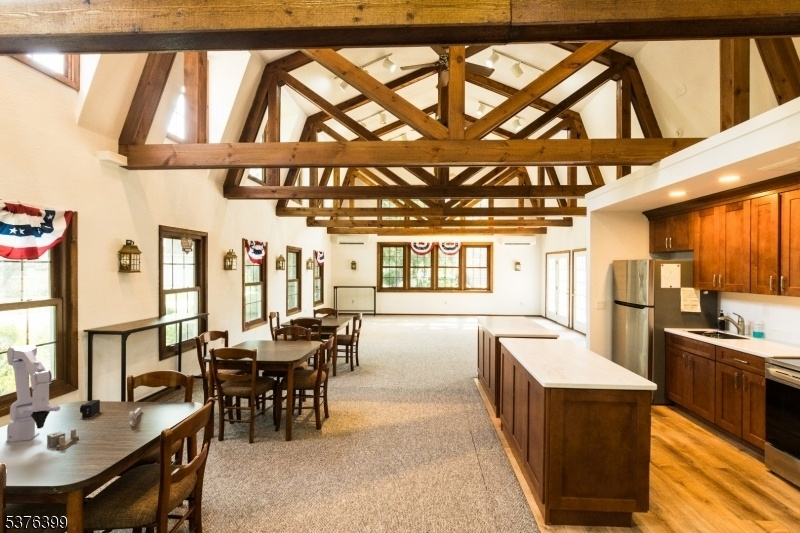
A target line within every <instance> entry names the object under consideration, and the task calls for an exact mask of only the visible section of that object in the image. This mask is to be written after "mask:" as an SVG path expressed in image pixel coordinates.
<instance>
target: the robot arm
mask: <svg viewBox="0 0 800 533" xmlns="http://www.w3.org/2000/svg"><path fill="white" fill-rule="evenodd" d="M37 353H38V348H37V346H36V345H35V344H34V343H32V344H25V345H18V346H9V347H8V348H7V351H6V358H7V364H8V366H12V368H13V374H14V382H15V390H16V398H17V400H15V401H14V402H13V403H12V404H10V407H9V417H10V421H9V422H8V425H7V428H6V429H7V430H6V436H7V437H6V441H5V442H6V443H8V442H9V443H10V442H20V441H21V442H22V441H29V440H31V439H33V438H35V437H37V436H38V435H39V434H40V432H36V428H37V429H42V428H44V426H45V423H46V420H47V418H48V416H49V414H50V412H59V411H60V410H61V405H50V383H51V382H52V380H53V379H52V378H53V376H52V372H51V370H50V369H47V368H45V367H44V365H43V363H42V362H41V361H39V360H37V358H36V355H37ZM29 376H30V378H29ZM29 379H30V380H29ZM29 381H30V382H29ZM30 386H31V387H30ZM30 389H32V396H31V390H30Z"/></svg>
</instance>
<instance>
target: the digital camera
mask: <svg viewBox="0 0 800 533" xmlns="http://www.w3.org/2000/svg"><path fill="white" fill-rule="evenodd" d="M100 407H101V399H91V400H89V401H88V402H86V403H84V404H81V406H80V408H79V412H80V413H81V418H82V419H87V418H88V419H90V418H89V417H91V418H93V417H94V416H96V415H97V414H99V413H100V412H101V408H100ZM99 411H100V412H99ZM96 413H97V414H96ZM95 414H96V415H95ZM92 416H93V417H92Z"/></svg>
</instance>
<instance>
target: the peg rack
mask: <svg viewBox="0 0 800 533" xmlns="http://www.w3.org/2000/svg"><path fill="white" fill-rule="evenodd" d="M79 439H80V437H79V435H77V428H74V429H73V428H72V429H70V437H68V438H67V439H66V435H65V436H62V437H60V438H59V445H58V446H57V447H55V448H56V451H61V450H65V449H67V448H68V447H70V446H71V445H72V444H74V443H75V442H77V441H78V440H79Z"/></svg>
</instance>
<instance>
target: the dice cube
mask: <svg viewBox="0 0 800 533" xmlns="http://www.w3.org/2000/svg"><path fill="white" fill-rule="evenodd" d="M62 436H65V437H66V432H63V431H55V432H53V433H49V434H47V435H46V446H48V447H49V448H51V449H53V448H56V447H57V446H58V445H59V438H60V437H62Z"/></svg>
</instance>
